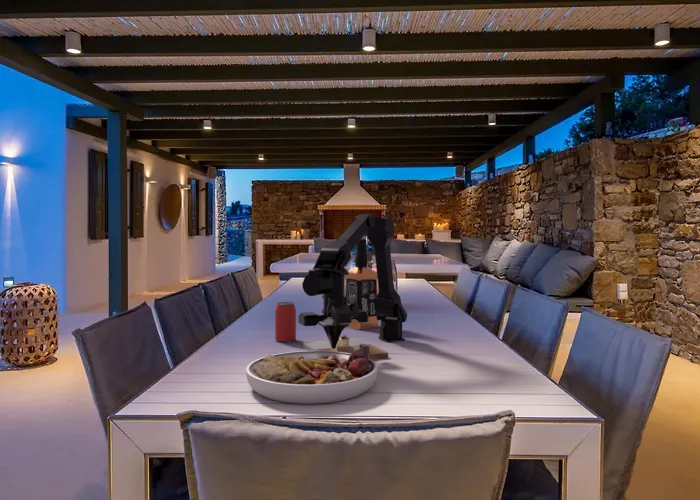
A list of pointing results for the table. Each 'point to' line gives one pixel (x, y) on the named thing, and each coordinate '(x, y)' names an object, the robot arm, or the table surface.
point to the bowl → (312, 376)
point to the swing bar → (343, 344)
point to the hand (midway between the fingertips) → (333, 348)
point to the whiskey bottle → (362, 288)
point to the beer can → (285, 322)
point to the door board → (370, 349)
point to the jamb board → (326, 345)
